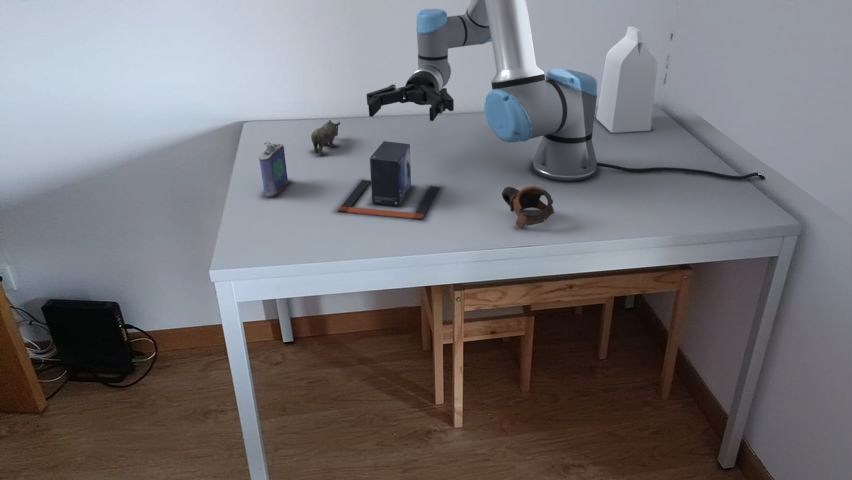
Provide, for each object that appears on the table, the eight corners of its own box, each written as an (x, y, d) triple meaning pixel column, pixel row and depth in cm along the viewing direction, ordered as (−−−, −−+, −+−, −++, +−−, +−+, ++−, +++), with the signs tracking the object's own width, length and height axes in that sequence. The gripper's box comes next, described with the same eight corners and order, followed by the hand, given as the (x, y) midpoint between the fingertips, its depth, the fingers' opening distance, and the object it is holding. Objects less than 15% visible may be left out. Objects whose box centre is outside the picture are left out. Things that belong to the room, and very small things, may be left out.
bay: (439, 188, 156) (439, 186, 156) (422, 219, 143) (422, 218, 142) (362, 181, 158) (362, 179, 158) (338, 211, 145) (337, 210, 144)
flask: (273, 198, 149) (266, 151, 143) (260, 197, 149) (252, 149, 144) (291, 181, 157) (284, 135, 151) (278, 180, 157) (271, 134, 152)
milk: (596, 118, 200) (606, 24, 186) (633, 116, 202) (645, 23, 188) (611, 132, 190) (623, 34, 176) (650, 130, 192) (665, 33, 179)
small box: (400, 207, 147) (398, 160, 142) (371, 204, 148) (367, 158, 142) (413, 186, 156) (411, 142, 151) (385, 184, 157) (382, 140, 151)
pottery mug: (559, 214, 147) (563, 192, 140) (538, 248, 143) (541, 227, 136) (509, 190, 150) (512, 167, 142) (488, 222, 146) (488, 200, 138)
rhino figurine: (347, 137, 181) (345, 115, 178) (324, 156, 170) (321, 133, 166) (332, 135, 182) (330, 113, 178) (309, 154, 170) (306, 131, 167)
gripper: (474, 104, 169) (457, 133, 151) (375, 97, 172) (347, 125, 154) (474, 73, 165) (456, 99, 147) (373, 67, 168) (343, 91, 150)
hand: (400, 112), depth 151 cm, fingers open, 13 cm apart
